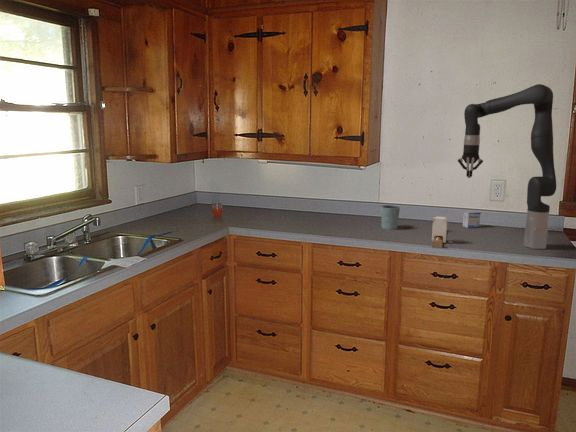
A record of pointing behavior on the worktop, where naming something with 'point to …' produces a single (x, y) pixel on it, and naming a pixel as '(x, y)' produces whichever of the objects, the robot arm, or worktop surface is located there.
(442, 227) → the beige rectangular block
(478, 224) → the medicine box
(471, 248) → the worktop surface
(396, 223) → the grey-green cup
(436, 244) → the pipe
